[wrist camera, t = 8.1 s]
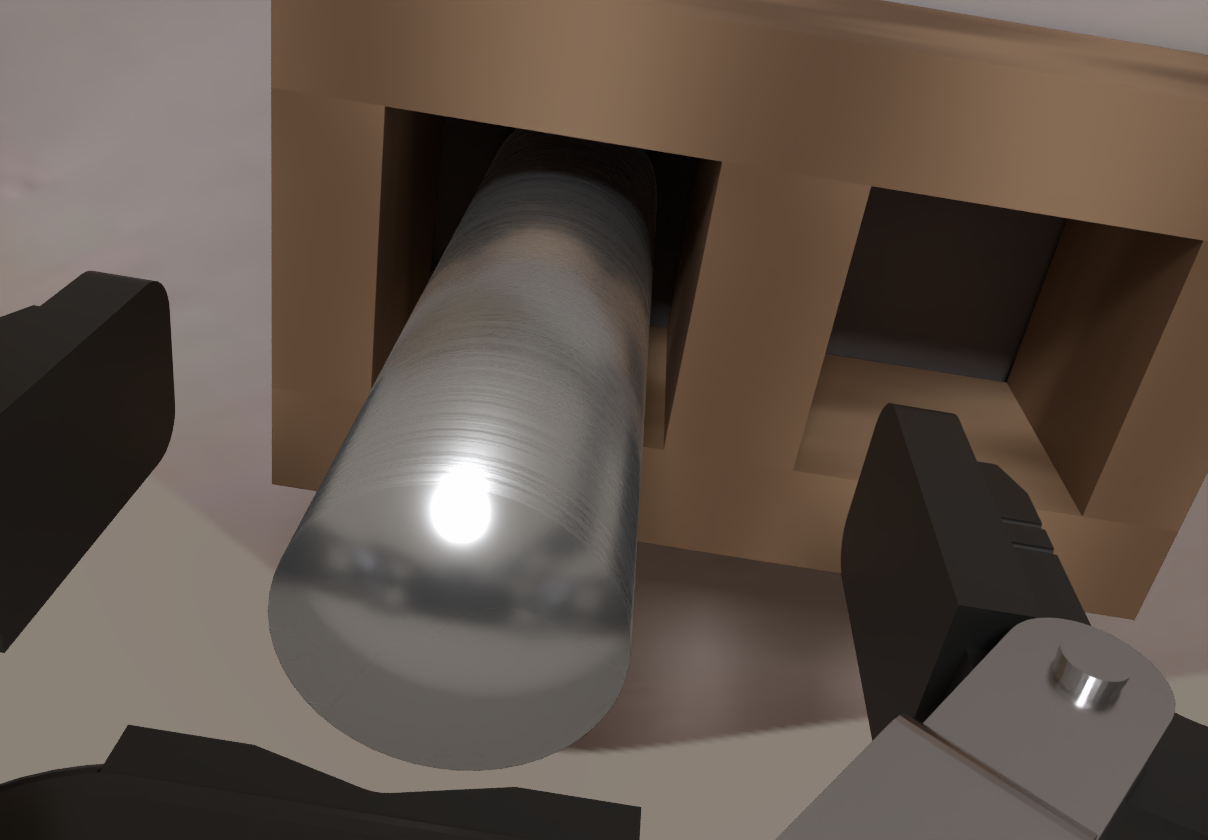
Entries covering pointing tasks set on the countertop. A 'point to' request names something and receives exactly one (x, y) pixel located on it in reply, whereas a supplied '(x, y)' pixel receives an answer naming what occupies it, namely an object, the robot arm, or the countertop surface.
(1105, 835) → the robot arm
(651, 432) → the hole block
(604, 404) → the peg
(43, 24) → the countertop surface
